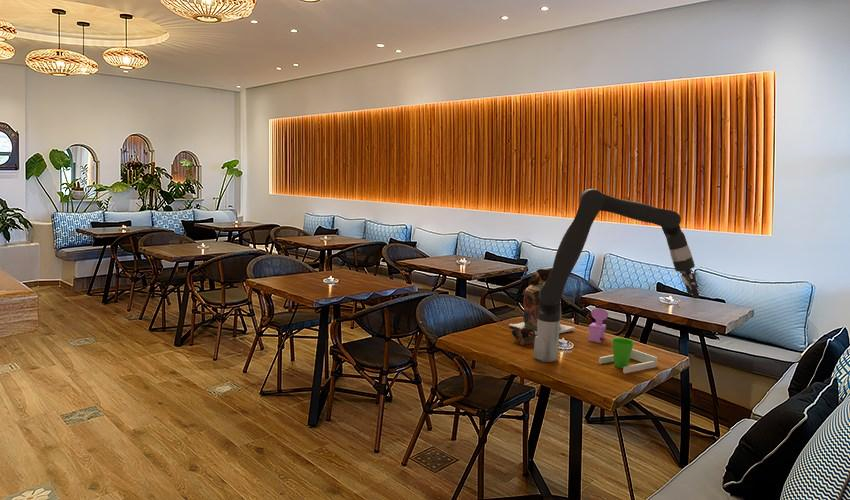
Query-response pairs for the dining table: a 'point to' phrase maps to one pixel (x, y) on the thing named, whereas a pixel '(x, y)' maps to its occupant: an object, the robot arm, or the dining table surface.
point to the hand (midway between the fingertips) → (693, 295)
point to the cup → (622, 351)
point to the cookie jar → (536, 303)
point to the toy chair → (597, 325)
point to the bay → (647, 359)
